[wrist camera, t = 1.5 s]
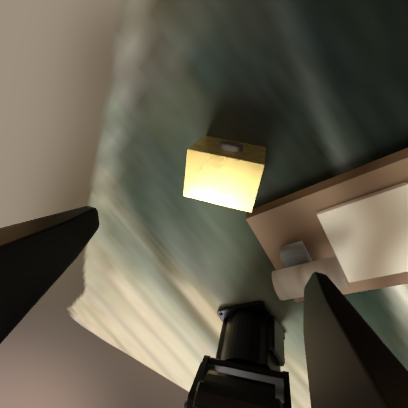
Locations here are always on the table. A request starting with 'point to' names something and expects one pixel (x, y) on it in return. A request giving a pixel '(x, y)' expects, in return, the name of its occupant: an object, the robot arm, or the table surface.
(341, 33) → the table surface
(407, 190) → the base plate
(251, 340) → the robot arm
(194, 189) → the yellow knobbed block
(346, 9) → the table surface
